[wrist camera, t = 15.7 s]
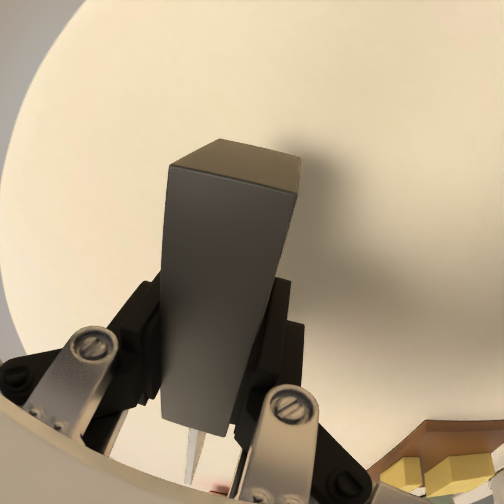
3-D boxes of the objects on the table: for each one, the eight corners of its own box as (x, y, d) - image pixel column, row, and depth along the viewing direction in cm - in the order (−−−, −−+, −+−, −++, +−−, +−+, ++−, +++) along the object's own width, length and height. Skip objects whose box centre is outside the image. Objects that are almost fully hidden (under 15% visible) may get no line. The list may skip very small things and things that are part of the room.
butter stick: (448, 455, 21) (452, 481, 18) (490, 451, 21) (495, 474, 18) (423, 473, 23) (426, 497, 20) (466, 469, 23) (470, 491, 20)
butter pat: (403, 456, 21) (405, 485, 18) (419, 456, 21) (422, 484, 18) (379, 474, 23) (380, 500, 21) (395, 474, 23) (397, 499, 20)
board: (425, 419, 20) (427, 431, 19) (518, 419, 19) (521, 427, 18) (353, 479, 27) (353, 488, 26) (444, 477, 26) (445, 485, 25)
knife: (218, 138, 8) (168, 164, 5) (301, 157, 8) (298, 193, 5) (182, 438, 17) (167, 482, 14) (218, 448, 17) (205, 493, 14)
